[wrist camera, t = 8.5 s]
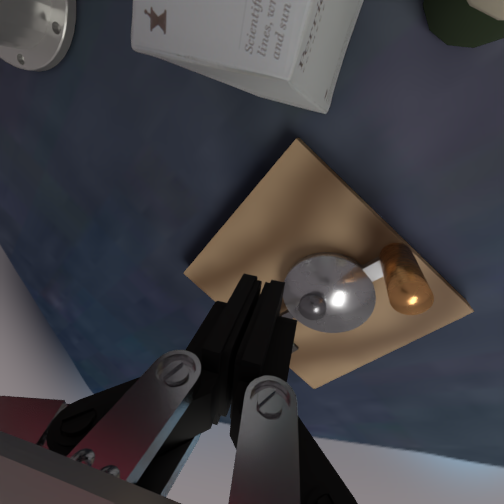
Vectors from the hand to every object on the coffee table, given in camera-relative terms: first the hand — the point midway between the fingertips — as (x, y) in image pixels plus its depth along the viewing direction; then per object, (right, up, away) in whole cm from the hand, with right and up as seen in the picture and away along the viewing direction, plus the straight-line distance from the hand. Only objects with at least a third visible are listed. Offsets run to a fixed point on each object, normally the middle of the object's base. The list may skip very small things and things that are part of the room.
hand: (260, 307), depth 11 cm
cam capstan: (+6, -2, +15) cm, 16 cm away
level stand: (+5, -1, +16) cm, 17 cm away
